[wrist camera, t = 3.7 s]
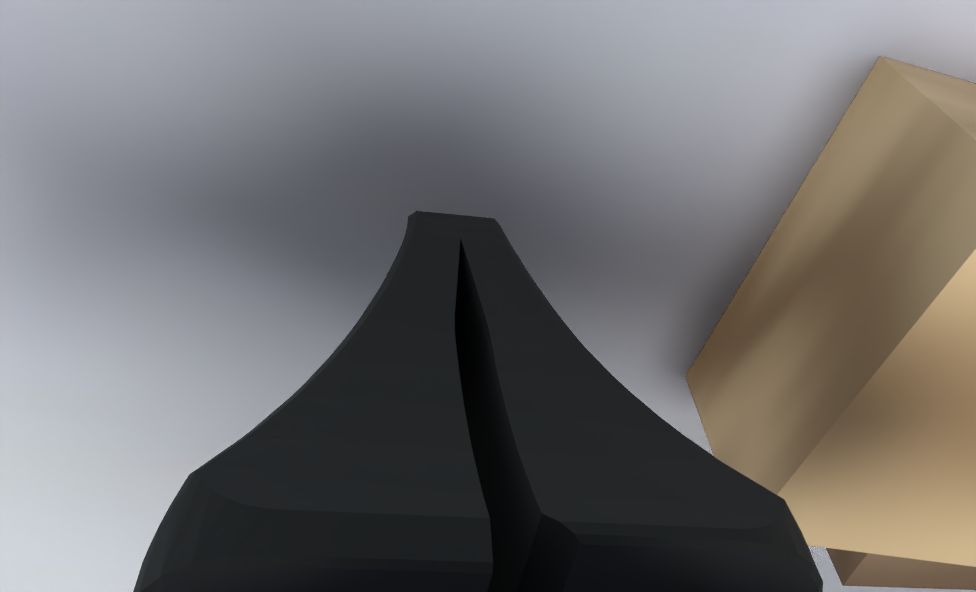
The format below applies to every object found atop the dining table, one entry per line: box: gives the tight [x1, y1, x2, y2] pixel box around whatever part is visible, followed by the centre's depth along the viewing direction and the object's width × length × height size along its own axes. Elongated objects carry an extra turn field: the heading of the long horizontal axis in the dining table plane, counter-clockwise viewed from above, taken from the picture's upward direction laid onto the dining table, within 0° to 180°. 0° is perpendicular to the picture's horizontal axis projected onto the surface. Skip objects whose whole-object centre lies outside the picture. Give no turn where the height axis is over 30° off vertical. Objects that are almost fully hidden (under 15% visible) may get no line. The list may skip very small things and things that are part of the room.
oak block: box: [685, 56, 976, 567], centre depth 13 cm, size 7×5×4 cm
